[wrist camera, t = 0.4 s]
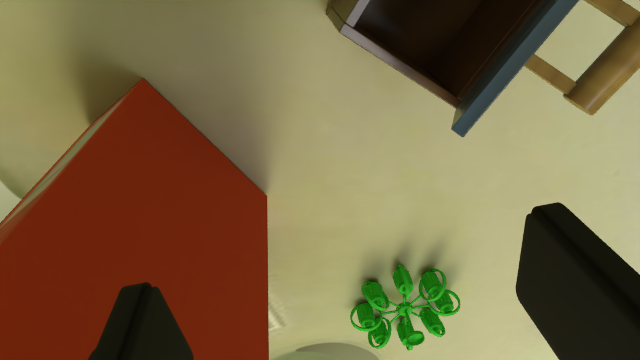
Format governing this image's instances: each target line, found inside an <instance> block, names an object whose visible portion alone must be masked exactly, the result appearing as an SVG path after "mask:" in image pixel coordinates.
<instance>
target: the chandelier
mask: <svg viewBox="0 0 640 360" xmlns="http://www.w3.org/2000/svg"><path fill="white" fill-rule="evenodd" d="M436 271H437V272H440V273H441V275H442V278H443V284H442V285H441V283H440V281H439V279H438V277H437V275H436V274H435V273H434V272H436ZM393 279H394V282H395V285H396V287H397V289H398V290H399V292H400V293H402V294H403V301H404V302H403V303H400V304H399V305H396V304H394V303H392V302H390V301H389V300H388V298H387V296H386V294H385V293H384V291H383V290H382V288H381V285H380V284H379V283H377V282H370V281H367V282H365V283H364V284H363V285H362V293H363V295H364V297H365V298H366V300H367V301H368V302H369V303H370V304H369V303H363V304H360V305H358V306H356V307H355V308H354V309H353V310H352V312H351V315H350V318H351V323H352V325H353V326H354V327H355V328H356V329H358V330H360V331H369V333H368V340H369V343H370V345H371V346H372V347H374V348H377V349H379V348H382V347H384V346H385V345H386V344H387V342H388V341H389V338H390V335H391V323H392V322H393V321H394V320H395V319H396V318H398V317H399V316H400V315H402V316H404V318H405V319H401V323H399V324H398V325H397V332H398V335H399V338H400V340H401V342H402V344H403V345H405V346H406V347H407V350H408V351H409V350H412V346H413V345H419V344H421V343H422V342H423V341H424V335H423V333H422V332H421V331H414V329H413V326H412V324H411V321H410V318H409V314H410V313H411V314H413V315H416V316H418V317H420V318H421V320H422V322H423V324H424V325H425V327H426V328H427V329H428V331H429V332H430V333H431V334H434V335H435V336H438V337H441V336H443V335H444V334H445V328H444V326H443V324H442V322H441V321H440V319H439V317H438V315H440V316H451V315H454V314H455V313H457V312H458V310H459V308H460V299H459V297H458V296H457V295H456V294H455V293H454V292H452V291H450V290H446V289H445V288H446V277H445V275H444V273H443V272H441V271H440V270H438V269H431V270H429V271H427V272H426V273H424V274H423V275H422V277H421V280H420V284H419V293H420V295H419V296H418V297H417V298H416V299H415V300H414V301H412V302H411V303H409V302H405V299H409V298H410V293H411V291H412V290H413V282H412V280H411V277H410V275H409V272H408V271H407V270H406V269H404V267H403V266H402V265H399V266H397V270H396V271H395V272H394V273H393ZM365 285H367V286H366V289H365ZM423 286H424V288H425V290H426V292H427V293H428V294H429V296H428V299H426V298H425V297H424V295H423V291H422V287H423ZM371 287H372V288H371ZM448 293H449V294H451V295H453V296H454V297H455V298H456V299H457V301H458V304H459V305H458V307H457V308H456V309H455V310H454V311H452V310H453V308H454V307H453V302H452V300H451V298H450V296H449V294H448ZM420 297H422V298H423V299H425V300H427V301H428V304H426V305H421V306H416V307H412V304H413V303H414V302H415V301H416V300H418V299H419V298H420ZM430 297H433V298H431V299H430ZM384 300H385V301H384ZM429 301H434V302H435V304H436V306H437V308H438V309H439V310H440V312H439V311H437V310H435V309H433V308H432V307H431V305H430V303H429ZM384 302H385V303H386V307H382V306H383V304H384ZM389 303H390V304H392V305H394V306H396V307H397V308H396V310H395V311H390V312H384V313H381V311H384V310H386V309H387V308H388V307H389ZM426 306H429V308H430V310H428V309H422V310H421V311H420V315H418V314H416V313H413V312H412V309H415V308H421V307H426ZM372 308H375V309H376V310H377V311H378V312H379V313H380V317H378V318H376V319H375V317H374V313H373V310H372ZM356 310H357V314H358V319H359V323H360V324H361V326H362V327H363V328H362V327H359V326H357V325H356V324H355V323H354V322H353V320H352V316H353V314H354V312H355V311H356ZM380 310H381V311H380ZM394 312H398V313H399V314H398V315H397V316H396V317H395V318H394V319H392V320H391V321H390V322H389V320H388V319H386V318H384V317H382V315H384V314H389V313H394ZM423 312H424V313H423ZM406 318H407V321H408V322H407V321H406ZM382 319H385V320H386V322H387V325H388V332H387V329H386V325H385V323H384V321H382ZM441 330H442V334H440V331H441ZM372 336H373V338H374V340H375V342H376V343H377V344H380V345H379V346H374V344H373V342H372Z"/></svg>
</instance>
